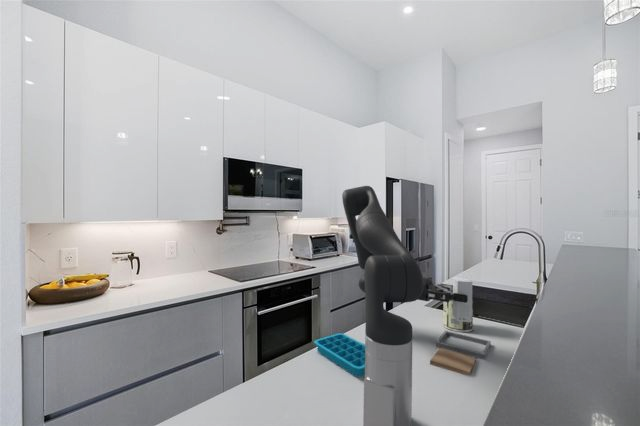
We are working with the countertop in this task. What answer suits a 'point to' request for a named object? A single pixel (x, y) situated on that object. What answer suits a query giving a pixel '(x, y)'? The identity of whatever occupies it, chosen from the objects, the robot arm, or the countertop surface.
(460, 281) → the skincare box
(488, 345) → the grey flat rectangular frame
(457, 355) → the walnut board
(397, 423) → the robot arm
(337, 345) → the ice cube tray
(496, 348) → the countertop surface
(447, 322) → the coffee can
